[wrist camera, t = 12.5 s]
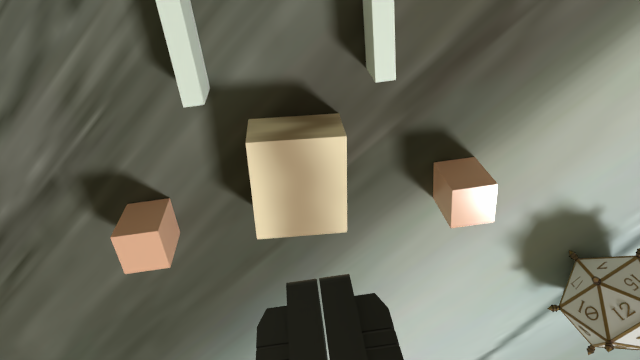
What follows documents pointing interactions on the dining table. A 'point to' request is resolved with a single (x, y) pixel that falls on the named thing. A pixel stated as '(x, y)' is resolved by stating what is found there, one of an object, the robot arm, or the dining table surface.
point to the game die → (604, 301)
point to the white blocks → (191, 63)
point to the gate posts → (163, 232)
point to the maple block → (298, 175)
